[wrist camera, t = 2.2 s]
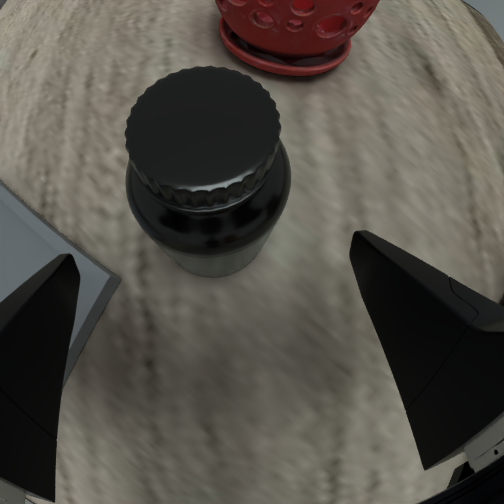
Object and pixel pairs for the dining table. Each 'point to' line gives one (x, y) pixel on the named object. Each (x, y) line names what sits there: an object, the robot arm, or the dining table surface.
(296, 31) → the plant pot
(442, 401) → the robot arm
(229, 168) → the supplement bottle
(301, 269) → the dining table surface
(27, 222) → the charcoal tray
